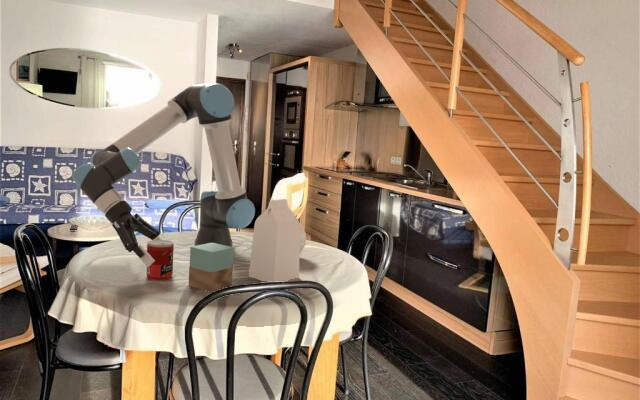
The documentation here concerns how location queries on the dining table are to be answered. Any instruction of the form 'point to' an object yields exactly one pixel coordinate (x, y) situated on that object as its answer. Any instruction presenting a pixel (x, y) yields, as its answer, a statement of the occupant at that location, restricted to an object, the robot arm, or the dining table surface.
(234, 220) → the robot arm
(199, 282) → the walnut block
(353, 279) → the dining table surface
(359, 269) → the dining table surface
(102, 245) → the dining table surface
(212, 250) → the teal block
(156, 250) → the canned food
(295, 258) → the milk
